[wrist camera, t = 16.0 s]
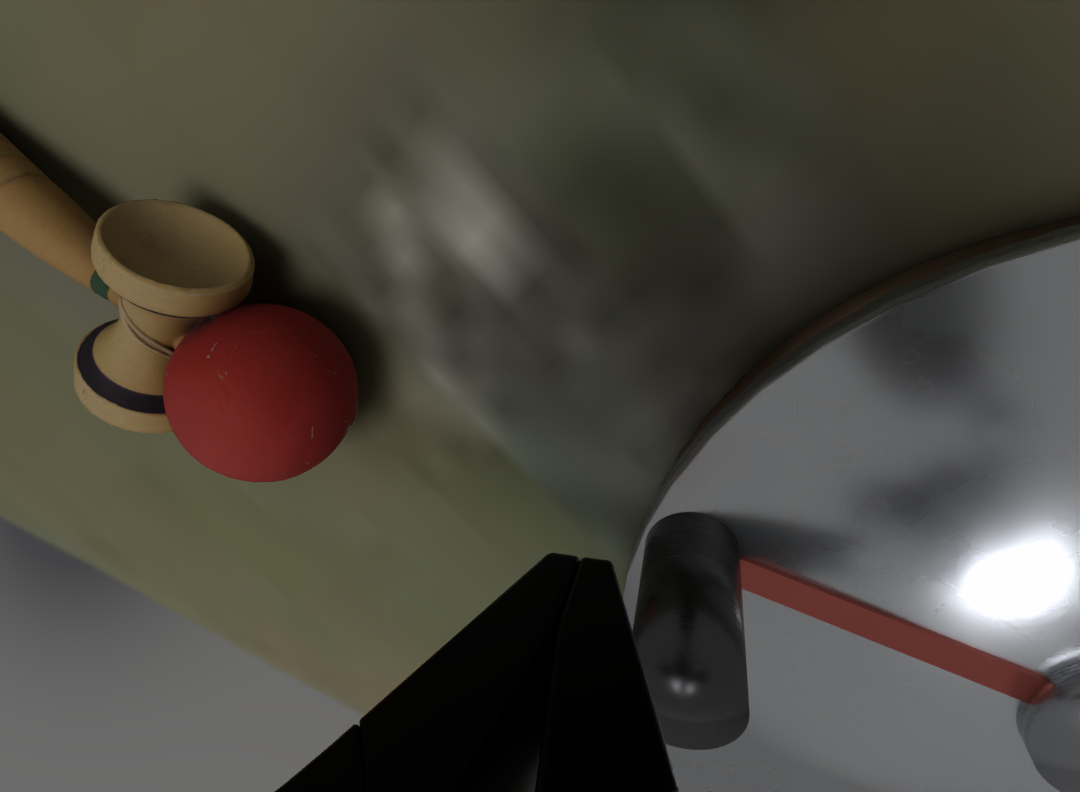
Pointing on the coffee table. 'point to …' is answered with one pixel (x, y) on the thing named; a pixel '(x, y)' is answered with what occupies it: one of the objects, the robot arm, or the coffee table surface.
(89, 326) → the coffee table surface
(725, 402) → the walnut base
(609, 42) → the coffee table surface
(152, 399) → the kendama
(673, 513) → the handwheel
